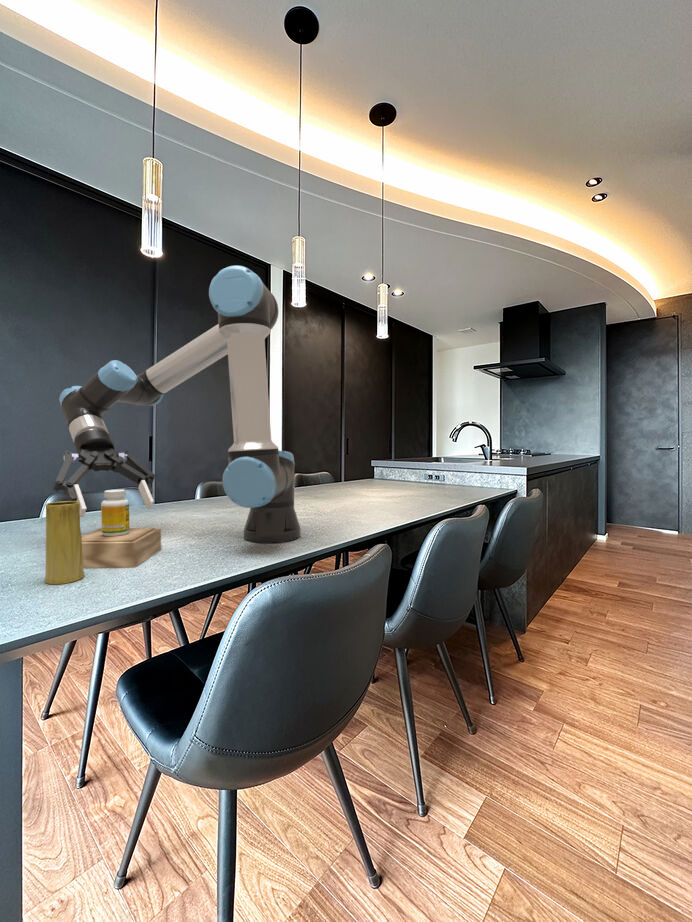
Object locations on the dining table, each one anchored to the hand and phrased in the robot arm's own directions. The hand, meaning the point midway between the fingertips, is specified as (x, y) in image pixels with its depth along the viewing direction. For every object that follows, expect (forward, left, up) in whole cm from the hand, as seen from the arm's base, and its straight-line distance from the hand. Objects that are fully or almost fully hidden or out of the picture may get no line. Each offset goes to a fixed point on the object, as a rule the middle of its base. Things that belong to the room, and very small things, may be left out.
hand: (118, 509), depth 89 cm
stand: (+1, -1, -11) cm, 11 cm away
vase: (+4, +12, -11) cm, 17 cm away
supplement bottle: (+1, -1, -6) cm, 6 cm away
